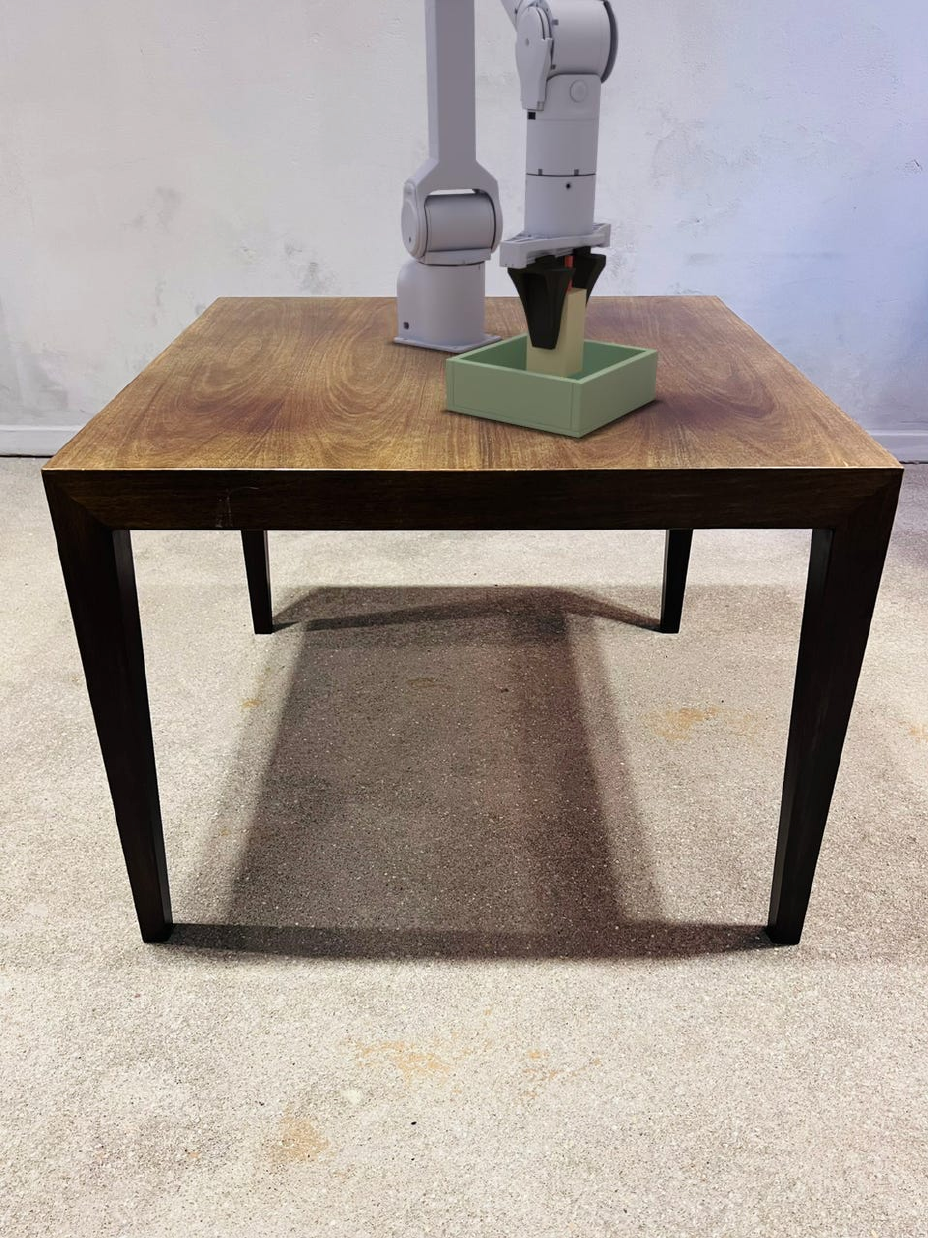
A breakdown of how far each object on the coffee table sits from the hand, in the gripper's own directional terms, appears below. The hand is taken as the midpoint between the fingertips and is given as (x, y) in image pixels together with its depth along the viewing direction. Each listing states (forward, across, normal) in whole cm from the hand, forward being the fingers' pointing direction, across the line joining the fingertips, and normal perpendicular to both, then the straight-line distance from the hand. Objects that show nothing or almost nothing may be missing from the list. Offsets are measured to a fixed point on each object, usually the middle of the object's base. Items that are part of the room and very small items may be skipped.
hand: (554, 343), depth 86 cm
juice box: (+2, 0, 0) cm, 2 cm away
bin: (+5, 0, 0) cm, 5 cm away
